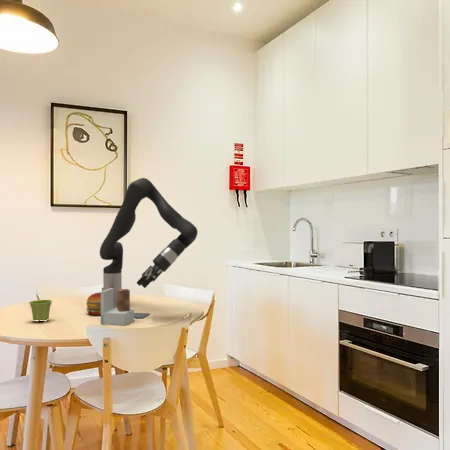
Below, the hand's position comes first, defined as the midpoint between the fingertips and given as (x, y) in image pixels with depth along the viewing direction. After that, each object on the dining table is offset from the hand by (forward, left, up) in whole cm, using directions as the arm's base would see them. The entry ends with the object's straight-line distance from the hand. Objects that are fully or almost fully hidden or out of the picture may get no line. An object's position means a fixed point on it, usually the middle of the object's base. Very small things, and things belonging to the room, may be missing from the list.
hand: (140, 285), depth 199 cm
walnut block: (-7, -3, -11) cm, 13 cm away
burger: (-25, +11, -16) cm, 31 cm away
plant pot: (-43, -10, -16) cm, 46 cm away
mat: (-5, +9, -16) cm, 19 cm away
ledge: (-9, -5, -16) cm, 18 cm away
